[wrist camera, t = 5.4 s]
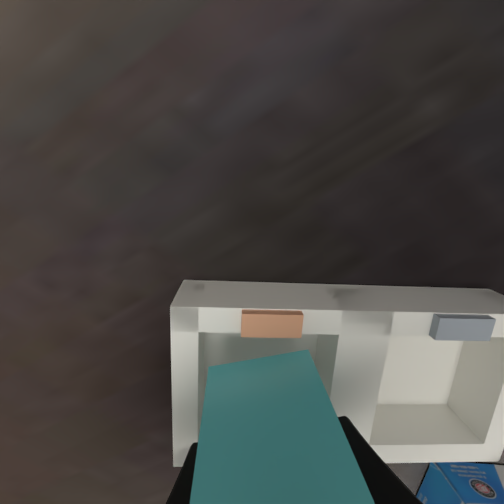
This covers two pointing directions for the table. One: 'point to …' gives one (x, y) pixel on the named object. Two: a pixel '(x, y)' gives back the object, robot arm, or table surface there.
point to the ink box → (462, 483)
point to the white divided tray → (357, 359)
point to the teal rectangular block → (273, 437)
